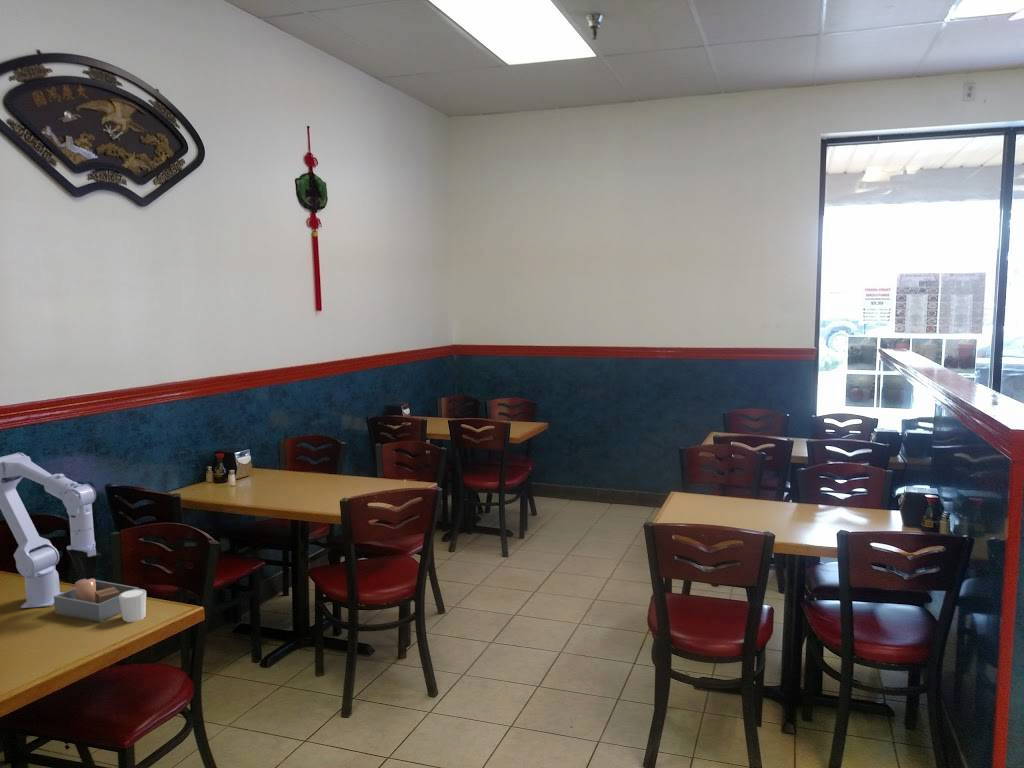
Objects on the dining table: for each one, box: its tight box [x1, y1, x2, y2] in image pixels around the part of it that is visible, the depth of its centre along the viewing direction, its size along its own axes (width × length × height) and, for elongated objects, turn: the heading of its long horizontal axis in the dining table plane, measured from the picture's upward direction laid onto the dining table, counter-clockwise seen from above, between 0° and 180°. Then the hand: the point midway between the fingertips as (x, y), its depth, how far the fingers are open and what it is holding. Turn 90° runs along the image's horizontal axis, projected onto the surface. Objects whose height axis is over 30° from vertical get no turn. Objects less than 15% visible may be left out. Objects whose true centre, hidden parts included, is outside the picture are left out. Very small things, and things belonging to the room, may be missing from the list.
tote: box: [53, 579, 140, 623], centre depth 216 cm, size 17×13×5 cm
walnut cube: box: [95, 587, 120, 604], centre depth 215 cm, size 5×5×5 cm
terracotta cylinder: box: [74, 578, 96, 603], centre depth 218 cm, size 5×5×7 cm
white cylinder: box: [119, 588, 147, 623], centre depth 210 cm, size 7×7×7 cm
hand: (85, 575), depth 217 cm, fingers open, 7 cm apart
